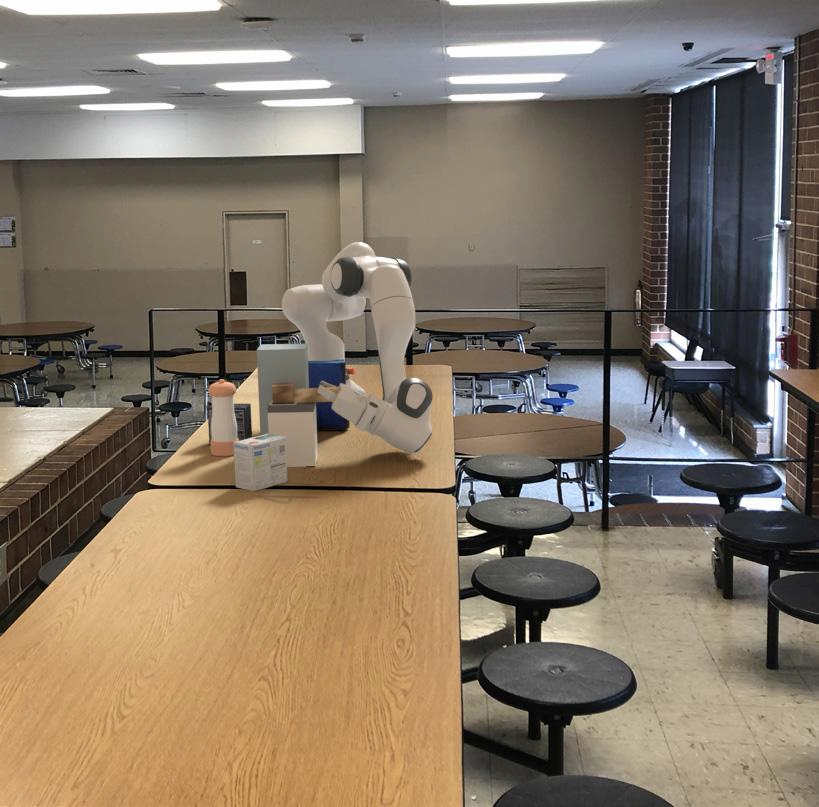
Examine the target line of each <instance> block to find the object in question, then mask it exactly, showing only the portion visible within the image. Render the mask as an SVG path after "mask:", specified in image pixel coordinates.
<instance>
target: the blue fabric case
mask: <svg viewBox="0 0 819 807" xmlns="http://www.w3.org/2000/svg"><path fill="white" fill-rule="evenodd" d="M346 364H347V360H346V359H345V360H344V359H342V360H331V361H308V372H309V388H319V384H320V382H321V381H324V382H326V383H328V384H331V385H334V386H336V387H338V386H339V385H340V383H342V384H345V385H346V368H347V366H346ZM332 403H333V402H316V423H317V431H345V430H348V429H349V428H350V425H351V422H350V421H348V420H347V419H345V418H344V417H342V416H340V415H339V414H337V413H336V412H335V411H334V410H333V409H332V408H331V407H332Z"/></svg>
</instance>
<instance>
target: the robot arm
mask: <svg viewBox="0 0 819 807" xmlns="http://www.w3.org/2000/svg"><path fill="white" fill-rule="evenodd" d="M412 280H413V276H412V270H411V268H410V266H409V264H408V263H407V262H406V261H405V260H403V259H400V258H395V257H383V256H377V255H376V253H375V251H374V250H373V248H372V247H371V246H370V245H369V244H366V243H364V242H361V241H360V242H359V241H354V242H351V243H350V244H348V245H347V246H345V247H343V249H342V250H341V251H339V253H337V255H335V257H334V258H333V259H332V261H330V263H329V264H328V266H327V267H326V269H325V270H324V271H323V273H322V276H321V283H319V284H303V285H299V286H295V287H291V288H288V289H287V290H286V291H285V292H284V294H283V296H282V298H281V310H282V312H283V314H284V316H285V318H286V319H287V320H288V321H290V323H292V324H294V325H295V326H296V327H297V329H298V330H299V331H300V333H301V335H302V338H303V339H304V342H305V343H304V344H308V361H331V360H342V359H344V360H346V359H345V344H344V340H342V339H341V337H340V336H338V335H337V334H334V333H332V332H330V331H329V329H328V327H327V322H337V321H346V320H350V319H353V318H357V317H360V316H361V315H362V314H363V313H364V311H365V308H366V304H367V300H366V299H369V304H370V310H371V315H372V320H373V325H374V331H375V332H374V333H375V336H376V344H377V352H378V361H379V370H380V378H381V386H382V398H380V397H378V396H377V395H375V394H372V393H370V394H369V396H368V395H367V392H366V391H365V390H364V389H363V388H362V387H361V386H359V385H358V384H357V383H355V381H353V380H352V379H351V377H350V375H352V376H354V375H356V373H357V371H356V369H355V368H354V367H348V368H347V367H346V385H345V384H342V383H340V385H339V386H338V387H341V391H338V394H336V393H334V392H332V391H330V390H328V389H327V388H325V387H336V386H334V385H331V384H328V383H326V382H324V381H321V382H320V384H319V388H318V390H317V392H318V393H319V394H321V395H323V396H324V397H325V398H326V399H328V400H329V401H331V402H333V403H332V407H331V408H332V409H333V410H334V411H335V412H336V413H337V414H339V415H340V416H342V417H344V418H345V419H347V420H348V421H350V423H352V424H354V427H355V428H356V429H358V430H360V431H362V432H366V433H368V434H370V435H372V436H376V437H377V438H378V437H379V438H380V439H382V440H383V441H384V442H385V443H386V444H389V445H390V446H392V447H394V448H397V449H398V450H401V451H403V452H406V453H409V454H415V453H418V452H420V451H421V450H422V449H423V448H424V447H425V445H427V443H428V441H429V440H430V439H431V436H433V435H432V434H433V428H432V424H431V408H432V402H433V397H434V396H433V390H432V389H431V387H430V386H429V385H428V383H427V382H425V381H424V380H422V379H421V378H418V377H408V378H407V377H406V370H405V355H406V351H407V348H408V345H409V342H410V340H411V338H412V336H413V333H414V331H415V329H416V309H415V307H416V306H415V303H414V299H413V294H412V291H411V286H412V285H411V284H412V282H413V281H412Z"/></svg>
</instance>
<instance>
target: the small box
mask: <svg viewBox="0 0 819 807" xmlns="http://www.w3.org/2000/svg"><path fill="white" fill-rule="evenodd" d="M251 406H252V405H251V403H234V413H235V417H236V422H237V438H238V439H239V441H241V440H245V439H249V438H252V437H253V425H252V407H251ZM211 421H212V404H211V405H209V406H207V423H208V442H209V443H208V446H209V447H211V444H210V441H211V439H212V435H211Z"/></svg>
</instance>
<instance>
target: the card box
mask: <svg viewBox="0 0 819 807" xmlns="http://www.w3.org/2000/svg"><path fill="white" fill-rule="evenodd" d="M267 410H268V434H271V435H277V436H283V437H286V459H287V468H303V467H304V468H305V467H306V466H315V465H317V462H316V461H318V458H319V457H318V430H317V423H316V402H309V403H294V404H276V405H273V399H271V401H270V403H269V405H268V407H267ZM315 467H316V466H315ZM306 468H307V467H306Z"/></svg>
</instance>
